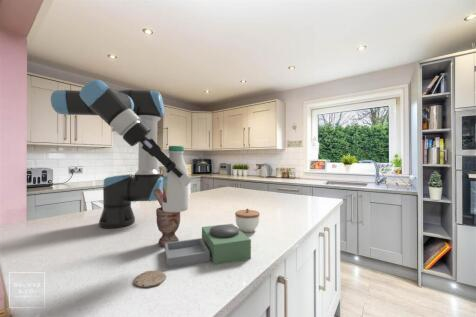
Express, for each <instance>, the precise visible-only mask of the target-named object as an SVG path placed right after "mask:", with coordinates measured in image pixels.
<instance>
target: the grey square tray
mask: <svg viewBox="0 0 476 317" xmlns="http://www.w3.org/2000/svg"><path fill="white" fill-rule="evenodd" d="M164 254H165V261H166V268H167V269H170V268H176V267H182V266H183V267H184V266H188V265H193V264H194V265H195V264H200V263H206V262H210V261H211V258H210V252H209V250H208V248H207V247H206V245H205V243H204V242H203V240H202V237H201V238H193V239H184V240H183V239H182V240H179V241H175V242H168V243H165V247H164Z"/></svg>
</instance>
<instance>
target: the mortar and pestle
mask: <svg viewBox="0 0 476 317" xmlns="http://www.w3.org/2000/svg"><path fill="white" fill-rule="evenodd" d="M154 195H155V197H156V199H157V202H158V204H159V206H160V207H158V208H156V209H155V213H156V225H157V226H156V227H157V229H158V231H159V232H160V233H161V235H162V236H161V237H160V238H159V240H158V246H160V247H164V248H165V243H168V242H175V241H180V239H179V238H178V236H177V235H176V232H177V231H178V229H179V226H180V223H181V212H165V211H163V206H162V205H163V191H162V192H161V190H160V189H155V190H154Z"/></svg>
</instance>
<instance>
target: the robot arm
mask: <svg viewBox="0 0 476 317" xmlns="http://www.w3.org/2000/svg"><path fill="white" fill-rule="evenodd" d="M163 100H164V99H163V97H162V94H161V93H160V92H159V91H158V90H143V89H141V90H138V89H121V90H112V89H111V88H110V87H109V85H108V84H106V83H105V82H104V81H103V80H101V79H93V80H91V81H89V82H87V83H86V84H85V85H84V86H82V88H81V89H80V90H73V89H71V90H69V89H68V90H67V89H55V90H54V91H53V92H52V93H51V95H50V103H51V107H52V109H53V111H55V113H57V114H59V115H67V116H71V115H72V116H73V115H75V116H98V117H99V118H101V119H102V120H103V121H104V122H105V123H106V124H107V125H108V126H110V127H111V132H112V133H114V132H115V133H117V135H119V136H122V139H123V140H124V141H125V142H126V143H127V144H128V145H129V146H131V147H134V146H136V145H137V144H138V152H137V154H138V156H137V157H138V161H137V162H138V163H137V165H138V166H137V167H138V168H137V169H138V170H137V171H136V172H135V173H134V177H132V175H131V174H120V175H114V176H108V177H105V178H104V179H103V187H102V190H103V193H102V196H103V198H102V199H103V201H102V202H103V206H102V207H103V209H102V212H101V215H100V218H99V220H98V227H99V228H101V229H117V228H123V227H129V226H131V225H133V224H134V223H135V222H136V217H135V214H134V211H133V208H132V202H155V201H156V202H158V200H157V199H156V197H155V195H154V190H155V189H160V190H161V192H162V193H163V176H161V172H160V171H159V170H158V162H160V164H162V165H163V166H164V168H165V167H166V169H167V171H166V172H167V173H169V172H170V173H171V174H172V175H173V176H175V177H176V178H177V179H178V180H179V181H180V182H181V183H182V184H183V185H184V186H185V187H186V186H187V185H188V186H189V185H190V184H191V183H192V182H193V180H192V178H190V177H189V175H188V176H187V175H186V174H185V173H184V172H183V171H182V170H181V169H180V168H179V167H178V166H177V165H176V164H175V163H174V162H172V161H171V160H170V159H169V157H168V156H167V155H166V154H165V153H164V151H162V148H161V147H160V146H159V145H158V122H159V121H161V119H162V116H165V105H164V101H163Z"/></svg>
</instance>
